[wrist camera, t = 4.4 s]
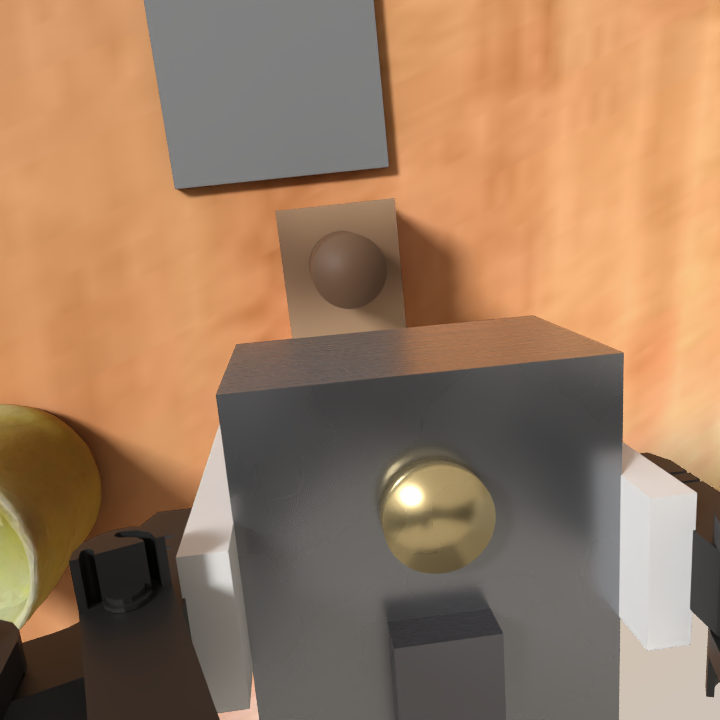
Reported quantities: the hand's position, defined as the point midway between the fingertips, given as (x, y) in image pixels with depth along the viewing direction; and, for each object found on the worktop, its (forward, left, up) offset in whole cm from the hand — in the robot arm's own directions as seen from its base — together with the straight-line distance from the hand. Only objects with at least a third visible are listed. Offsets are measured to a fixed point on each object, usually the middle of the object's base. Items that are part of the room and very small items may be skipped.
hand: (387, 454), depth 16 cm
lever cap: (0, 0, +2) cm, 2 cm away
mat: (-2, +12, -17) cm, 21 cm away
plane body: (0, -2, -17) cm, 17 cm away
